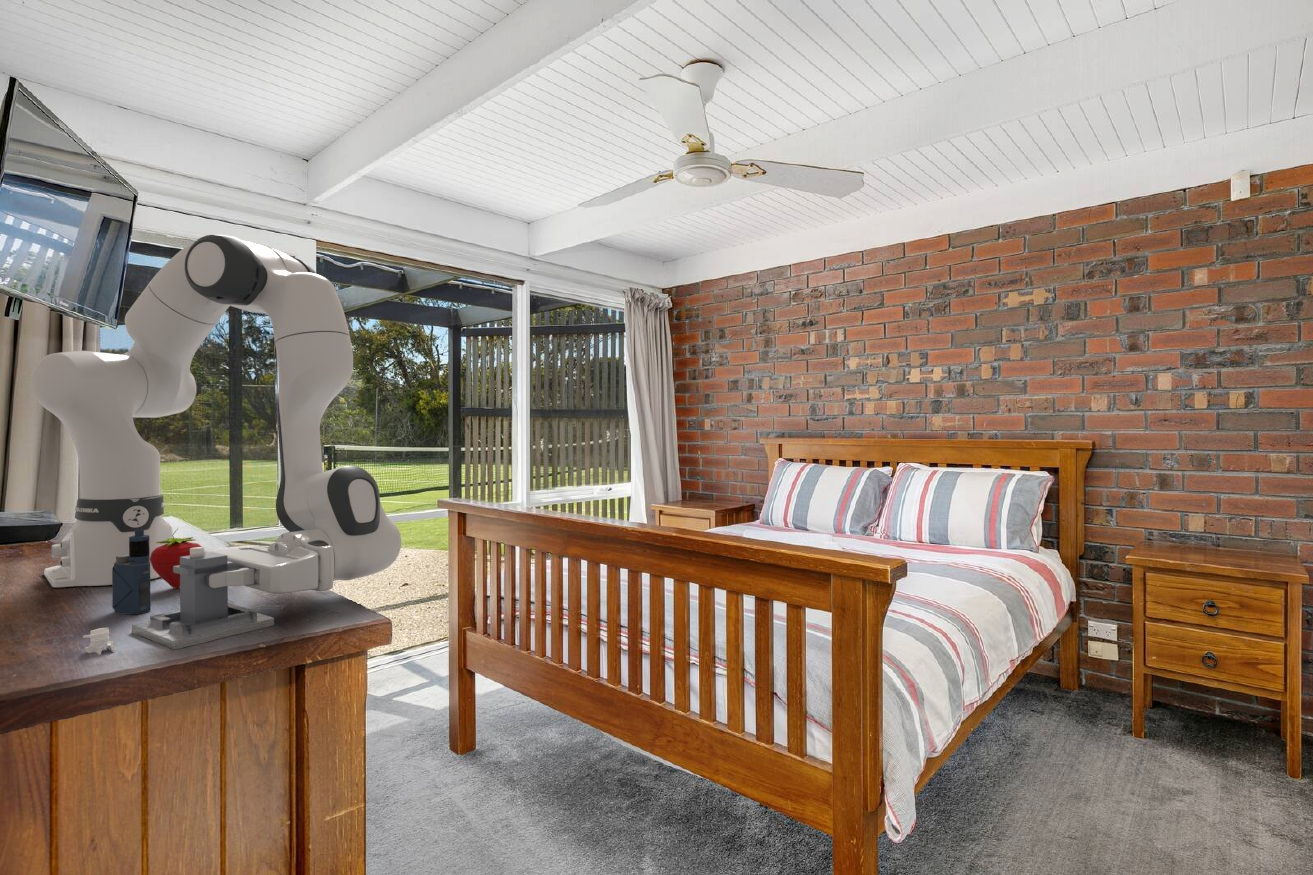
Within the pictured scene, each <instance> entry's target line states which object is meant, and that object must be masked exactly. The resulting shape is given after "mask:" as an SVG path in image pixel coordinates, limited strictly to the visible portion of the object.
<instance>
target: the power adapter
mask: <svg viewBox="0 0 1313 875" xmlns="http://www.w3.org/2000/svg"><path fill="white" fill-rule="evenodd" d="M109 628H110V627H100V628H96V629H93V630H92V629H91V630H90V634H85V635H83V636H82V639H87V638H90V639H89V640H90V643H89V646H86V647H84V650H85V651H86V652H87V653H88V654H93V653H96V654H97V655H98V656H100V655H102V651H103V648H106V649H107V650H109V651H111V652H112V653H116V651H115V642H114V641H113V640H112V641H110V640H109V639H111V637H110V631H109V630H110V629H109Z"/></svg>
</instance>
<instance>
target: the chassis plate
mask: <svg viewBox="0 0 1313 875" xmlns="http://www.w3.org/2000/svg"><path fill="white" fill-rule="evenodd" d="M149 619H150V620H148V621H143V622H138V623H135V624H131V633H133V634H135V635H137V636H140V637H142V638H145V639H147V640H150V641H152V642H155V643H157V644H159V645H162V646H164V647H167V648H170V649H172V650H174V651H175V650H178V649H179V650H180V649H183V648H187V647H191V646H195V645H199V644H203V643H207V642H211V641H217V640H220V639H224V638H228V637H232V636H237V635H240V634H243V633H249V632H252V631H256V630H261V629H265V628H268V627H272V626H275V618H274V617H272V616H269V615H265V614H262V613H259V612H258V611H256V610H253V609H249V608H246V607H244V606H240V605H237V604H233V603H231V602H228V616H225V617H221V618H216V619H212V620H207V621H203V622H198V623H194V624H189V625H187V624H184V623H181V622H180V609H179V610H175V611H174V610H173V611H170V612H165V613H160V614H155V615H151V616H150V618H149Z"/></svg>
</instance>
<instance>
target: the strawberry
mask: <svg viewBox="0 0 1313 875" xmlns="http://www.w3.org/2000/svg"><path fill="white" fill-rule="evenodd" d="M178 529H179V528H177V529H175V531H173V535H172V536H173V538H167V539H168V540H165V541H159V542H156V543H167V544H165V545H162V546H160V547H157V548H155V549H154V550H153V551H152V553H151V557H150V561H151V564H152V567H153V569H154V570H155V571H156V573H157V574H158V575H159V576H160V577H159V578H160V579H162V580H163V581H165V582H166V583H167V584H168V585H169V586H170V587H171V588H173V589H180V574H178V573H174V572H173V566H178V565H180V557H183V556H190V548H194V547H203V546H202V545H200V544H199V543H197V542H196V543H195V541H196V539H194V536H193V537H192V536H191V537H183V538H181V537H174V535H175V533H176V532H177V531H178Z"/></svg>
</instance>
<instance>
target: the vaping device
mask: <svg viewBox="0 0 1313 875" xmlns="http://www.w3.org/2000/svg"><path fill="white" fill-rule="evenodd" d="M111 586H112V590H111V591H112V592H111V594H112V596H111V597H112V600H111V601H112V602H111V604H112V606H111V607H112V609H113V610H114V613H115V614H119V615H120V614H123V615H139V614H144V613H147V612H150V611H151V579H150V540H149V535H144V529H138V530H135V536H130V537H129V554H124V555H118V556H116V562H115V563H114V567H113V568H112V585H111Z"/></svg>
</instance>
